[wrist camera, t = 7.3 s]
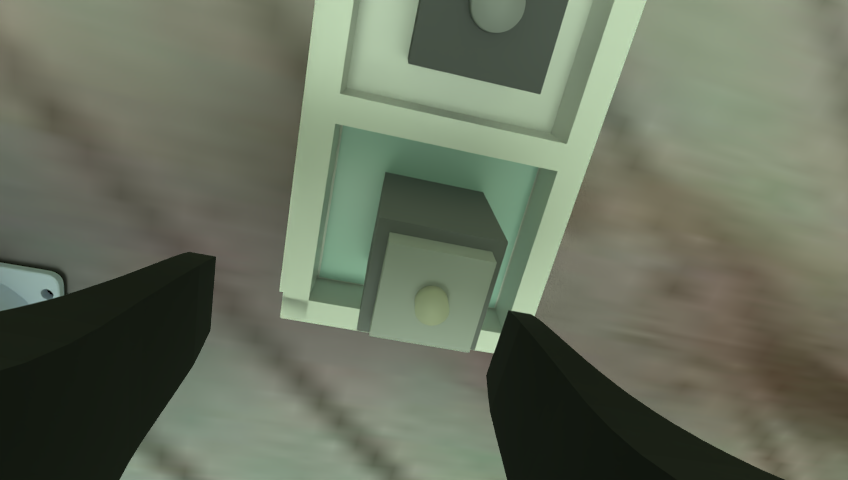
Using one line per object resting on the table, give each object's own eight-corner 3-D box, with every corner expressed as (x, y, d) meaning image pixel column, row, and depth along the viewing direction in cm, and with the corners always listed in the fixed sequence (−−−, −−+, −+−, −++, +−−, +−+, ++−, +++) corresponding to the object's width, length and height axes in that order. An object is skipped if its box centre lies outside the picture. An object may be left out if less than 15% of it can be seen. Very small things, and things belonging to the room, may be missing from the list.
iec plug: (458, 278, 21) (480, 376, 15) (367, 262, 21) (352, 356, 15) (483, 192, 20) (518, 261, 14) (385, 171, 19) (376, 235, 13)
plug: (512, 82, 18) (547, 97, 14) (407, 57, 18) (408, 65, 13) (546, -37, 17) (597, -64, 12) (432, -68, 16) (442, -106, 12)
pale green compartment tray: (515, 319, 24) (530, 359, 21) (285, 278, 22) (267, 315, 19) (652, -86, 17) (702, -111, 14) (343, -175, 16) (329, -222, 13)
